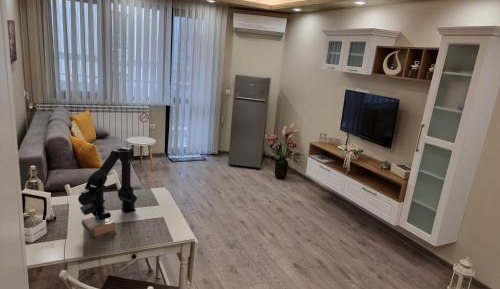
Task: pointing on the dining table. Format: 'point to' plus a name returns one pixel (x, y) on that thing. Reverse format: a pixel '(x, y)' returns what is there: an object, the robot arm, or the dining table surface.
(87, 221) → the brown boxy piece
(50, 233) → the dining table surface
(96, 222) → the pale sage green cube
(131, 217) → the dining table surface
